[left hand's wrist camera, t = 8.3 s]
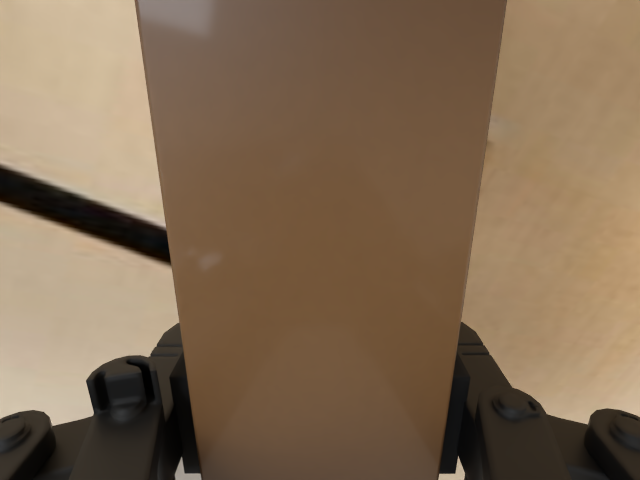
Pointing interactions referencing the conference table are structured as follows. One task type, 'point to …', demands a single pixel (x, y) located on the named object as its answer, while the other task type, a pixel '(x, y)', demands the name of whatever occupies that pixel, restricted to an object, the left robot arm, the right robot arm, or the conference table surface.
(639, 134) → the conference table surface
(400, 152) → the bar
